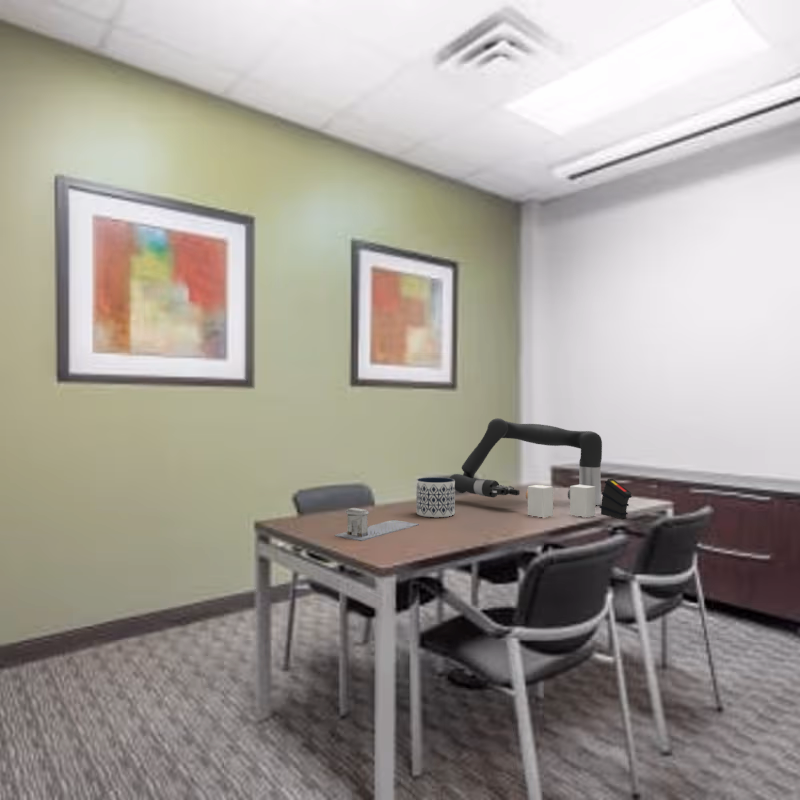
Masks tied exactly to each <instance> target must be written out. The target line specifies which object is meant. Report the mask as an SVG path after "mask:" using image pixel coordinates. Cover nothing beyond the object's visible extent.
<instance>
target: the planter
mask: <svg viewBox="0 0 800 800" xmlns="http://www.w3.org/2000/svg"><path fill="white" fill-rule="evenodd" d="M455 502H456V490H455V480H454V479H450V477H441V476H439V477H431V476H430V477H420V478H417V479H416V507H415V508H416V510H415V511H416V512H415V513H416V514H417V515H418V516H420V517H425V518H430V517H434V518H435V519H439V517H444V518H449V516H450V517H453V516H454V515H455V514H456V513H455V512H456V508H455V507H456V503H455ZM452 515H453V516H452ZM434 518H433V519H434Z"/></svg>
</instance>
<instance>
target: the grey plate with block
mask: <svg viewBox="0 0 800 800" xmlns="http://www.w3.org/2000/svg"><path fill="white" fill-rule="evenodd" d="M345 514H346V515H347V531H345V532H342V533H337V534H334V537H338V538H344V539H348V540H353V541H357V542H365V541H367V540H368V541H369V540H371V539H374V538H377V537H378V538H379V537H382V536H385V535H388V534H391V533H392V534H393V533H395V532H398V531H399V532H400V531H402V530H406V529H409V528H413V526H414V527H417V526H420V523H415V522H409V521H404V520H396V519H391V520H386V521H384V522H380V523H377V524H373V525H369V526H368V515H369V514H370V512H369V511H368V509H364V508H358V507H357V508H356V507H351V508H347V510H345ZM416 525H417V526H416Z"/></svg>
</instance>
